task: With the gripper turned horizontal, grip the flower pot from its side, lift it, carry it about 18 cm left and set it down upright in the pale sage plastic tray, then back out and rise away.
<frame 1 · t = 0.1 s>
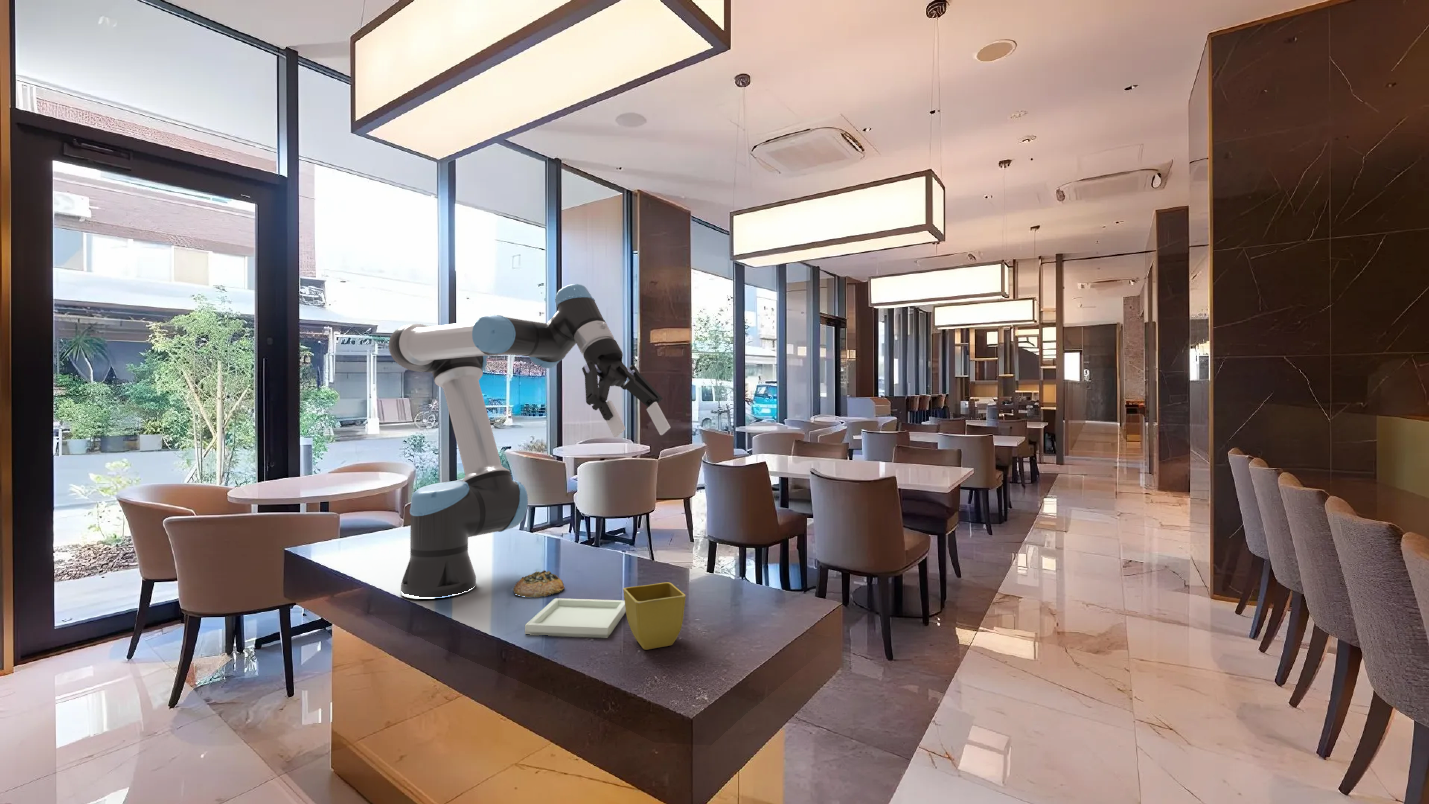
hand: (643, 432, 117), 36 cm above the countertop, tool tilted 35°, fingers open, 13 cm apart
tray: (579, 621, 113), on the countertop
flower pot: (653, 644, 102), on the countertop
bread roll: (539, 592, 132), on the countertop
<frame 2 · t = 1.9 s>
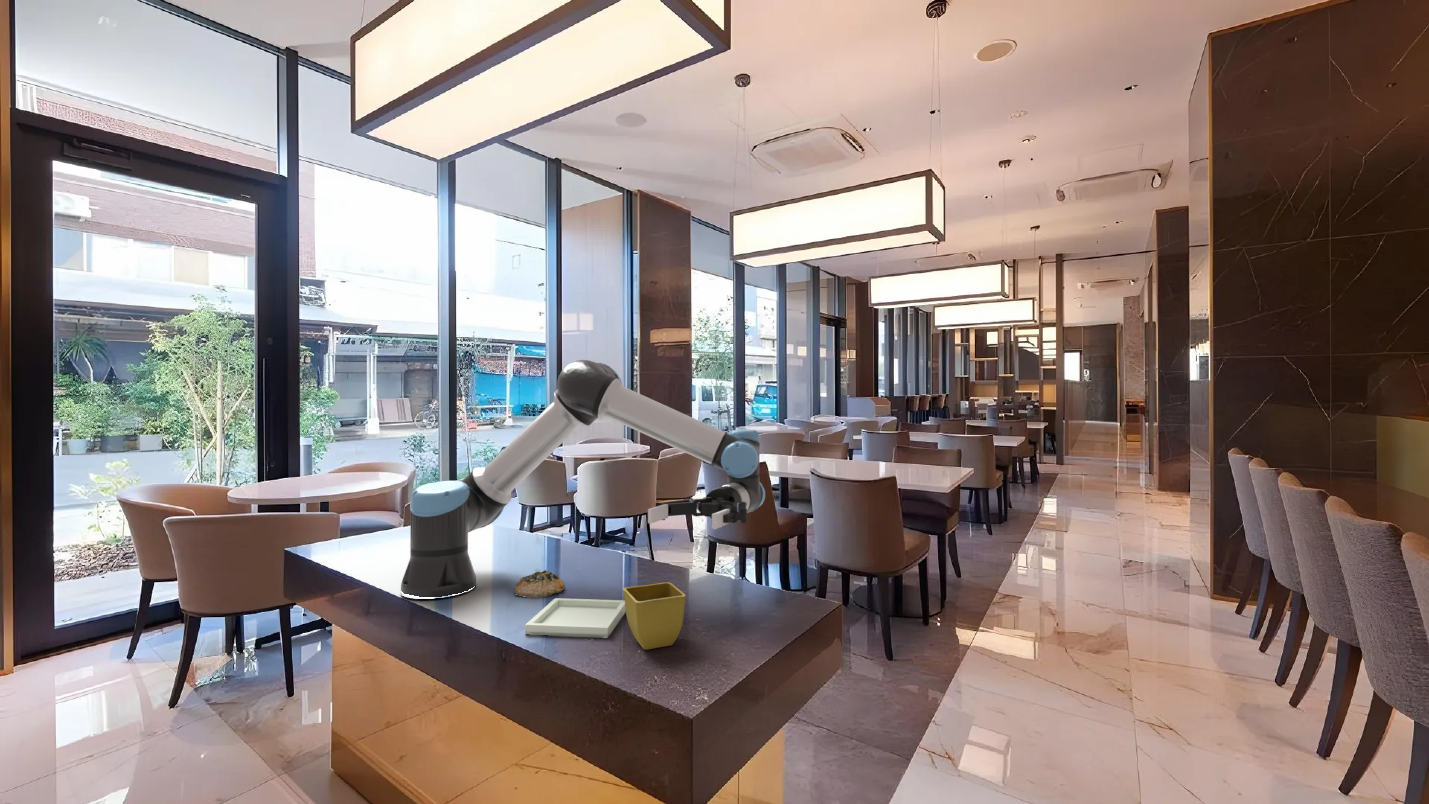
hand: (680, 518, 111), 20 cm above the countertop, tool horizontal, fingers open, 13 cm apart
nothing on the countertop moved.
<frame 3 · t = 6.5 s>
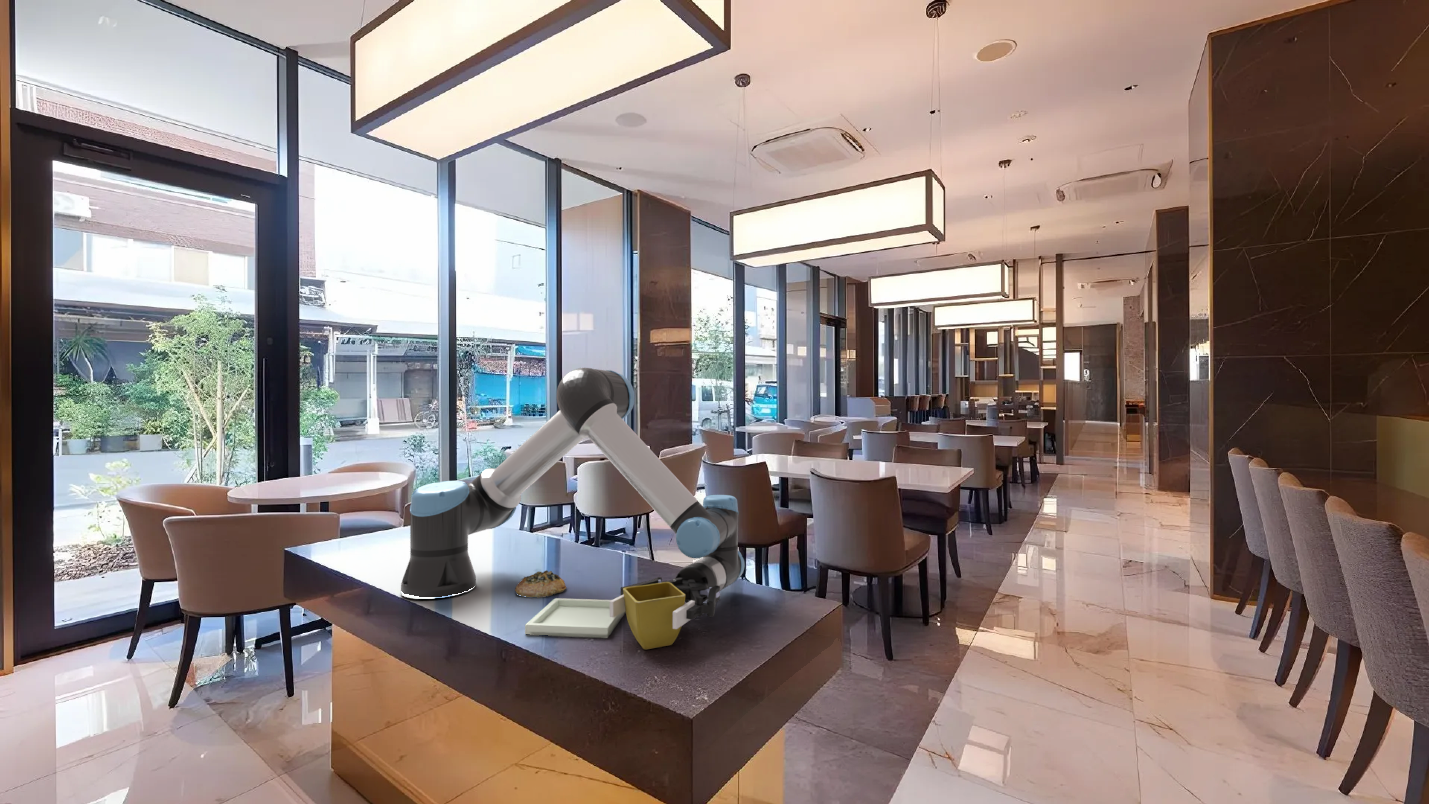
hand: (642, 614, 99), 6 cm above the countertop, tool horizontal, fingers closed on flower pot, 12 cm apart
flower pot: (653, 644, 102), on the countertop, touching gripper
everything else where it was.
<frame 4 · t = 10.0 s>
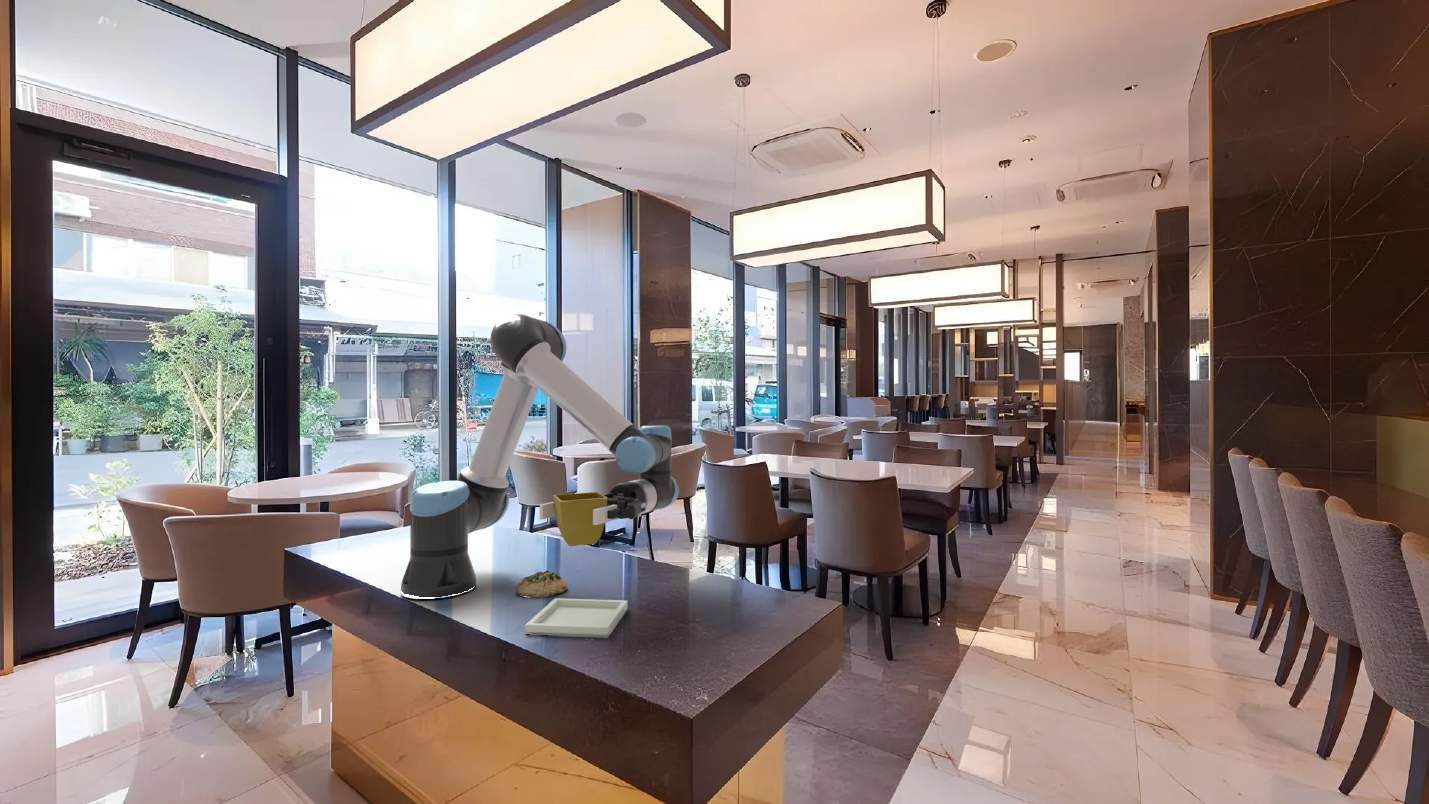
hand: (567, 514, 110), 21 cm above the countertop, tool horizontal, fingers closed on flower pot, 12 cm apart
flower pot: (579, 544, 113), point 15 cm above the countertop, touching gripper
everything else where it was.
when the fingers open (8 cm above the countertop, at t = 13.4 s): flower pot drops 1 cm, resting on tray.
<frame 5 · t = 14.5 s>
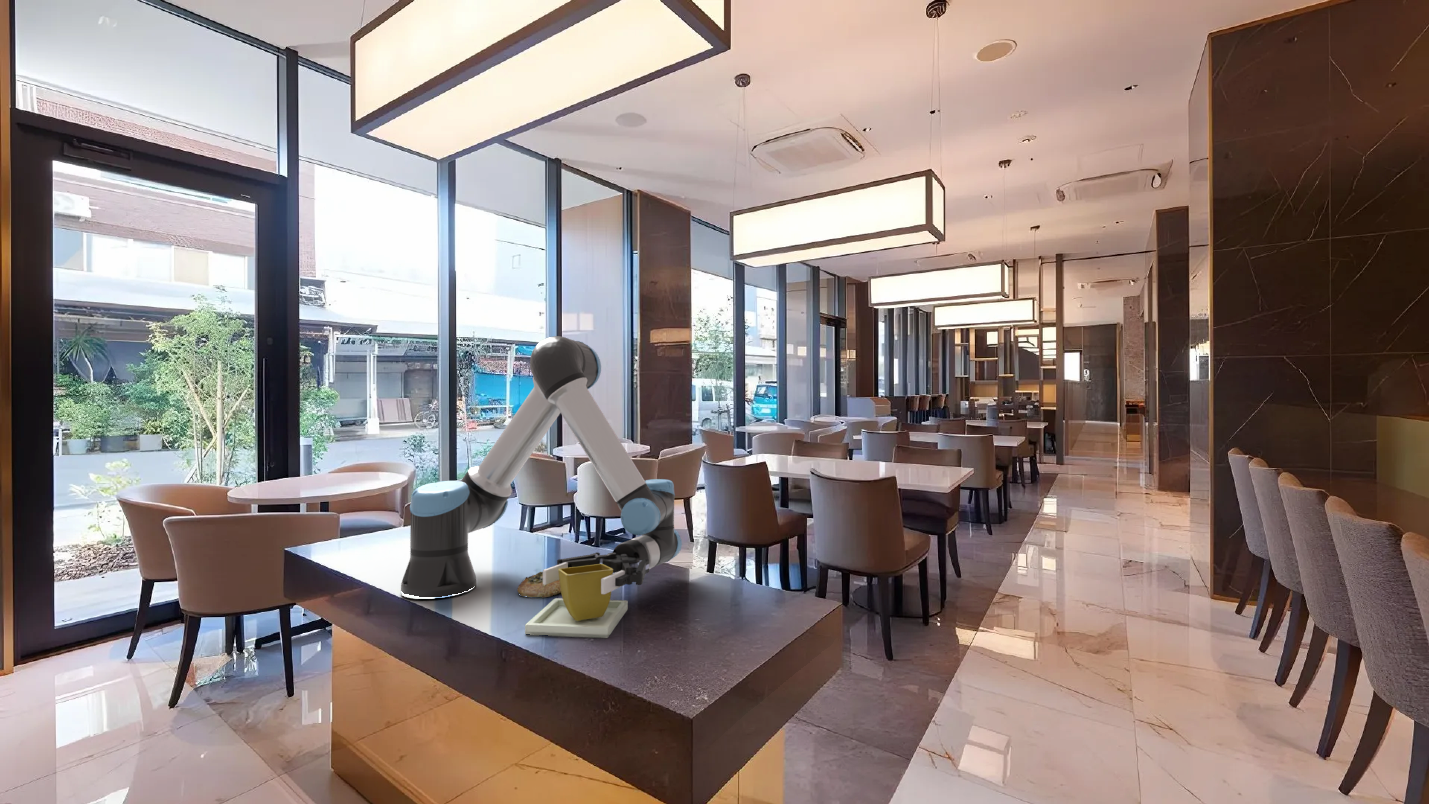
hand: (572, 582, 111), 8 cm above the countertop, tool horizontal, fingers open, 13 cm apart
flower pot: (586, 618, 112), point 1 cm above the countertop, touching tray
everything else where it was.
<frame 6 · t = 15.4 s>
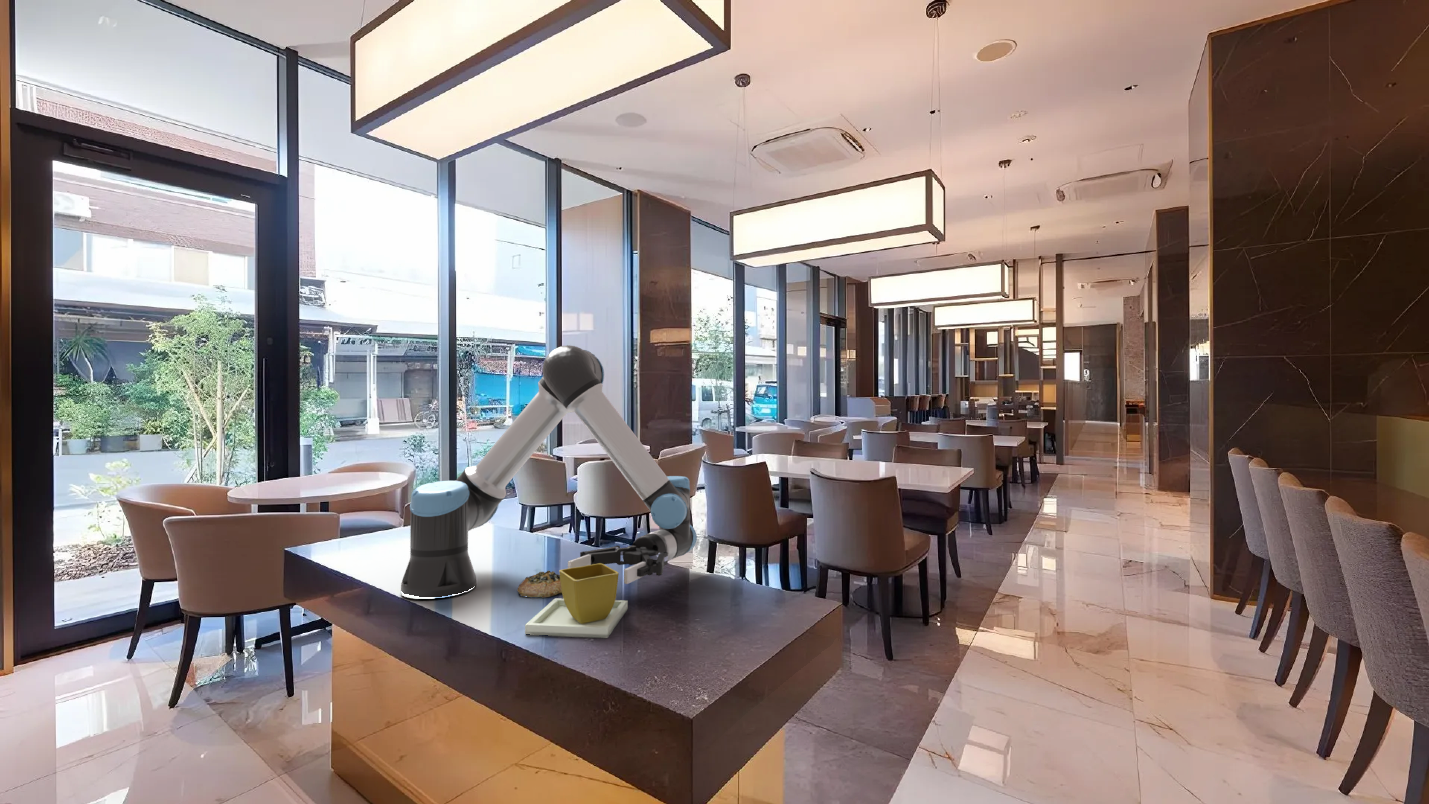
hand: (596, 572, 117), 8 cm above the countertop, tool horizontal, fingers open, 13 cm apart
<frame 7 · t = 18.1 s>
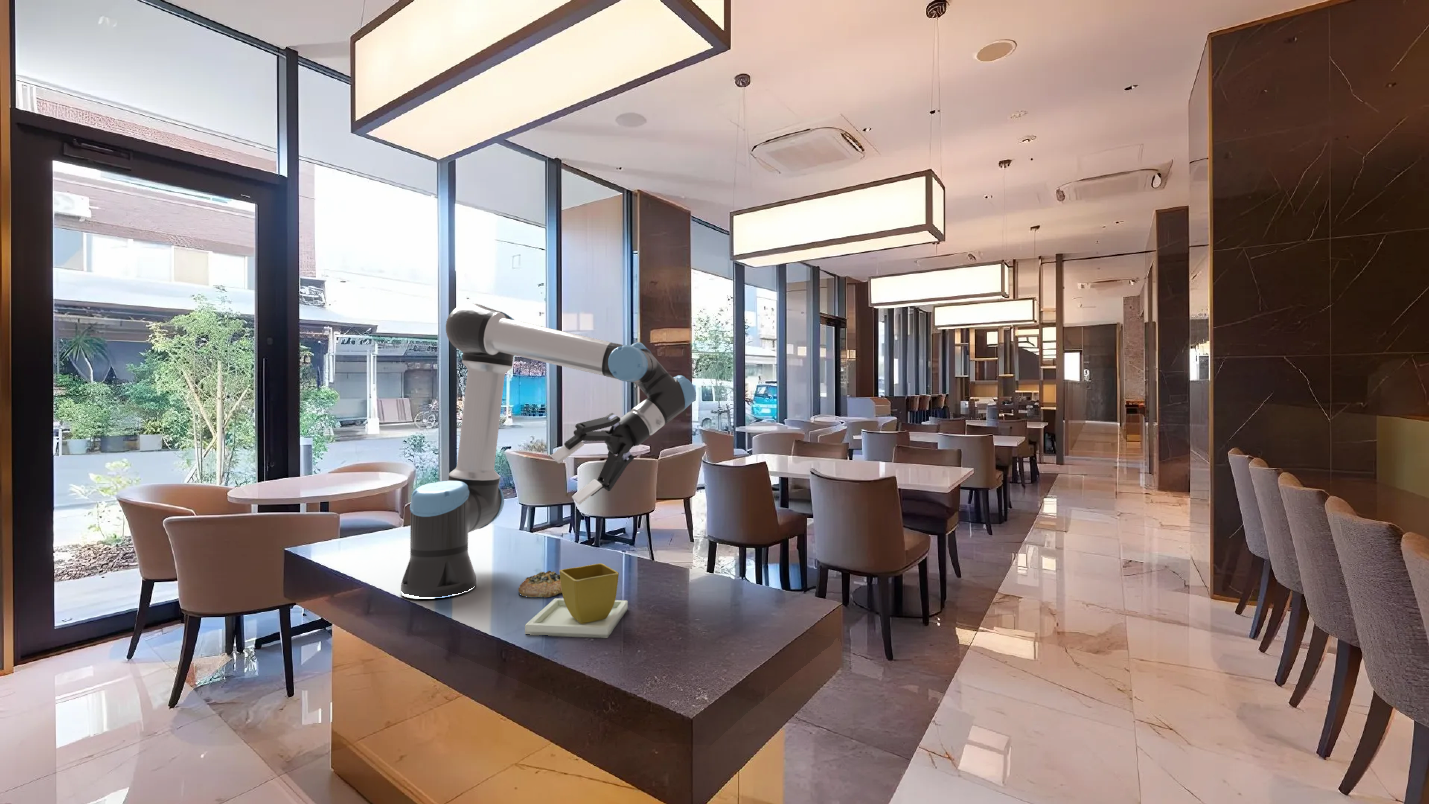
hand: (565, 480, 127), 25 cm above the countertop, tool tilted 55°, fingers open, 13 cm apart
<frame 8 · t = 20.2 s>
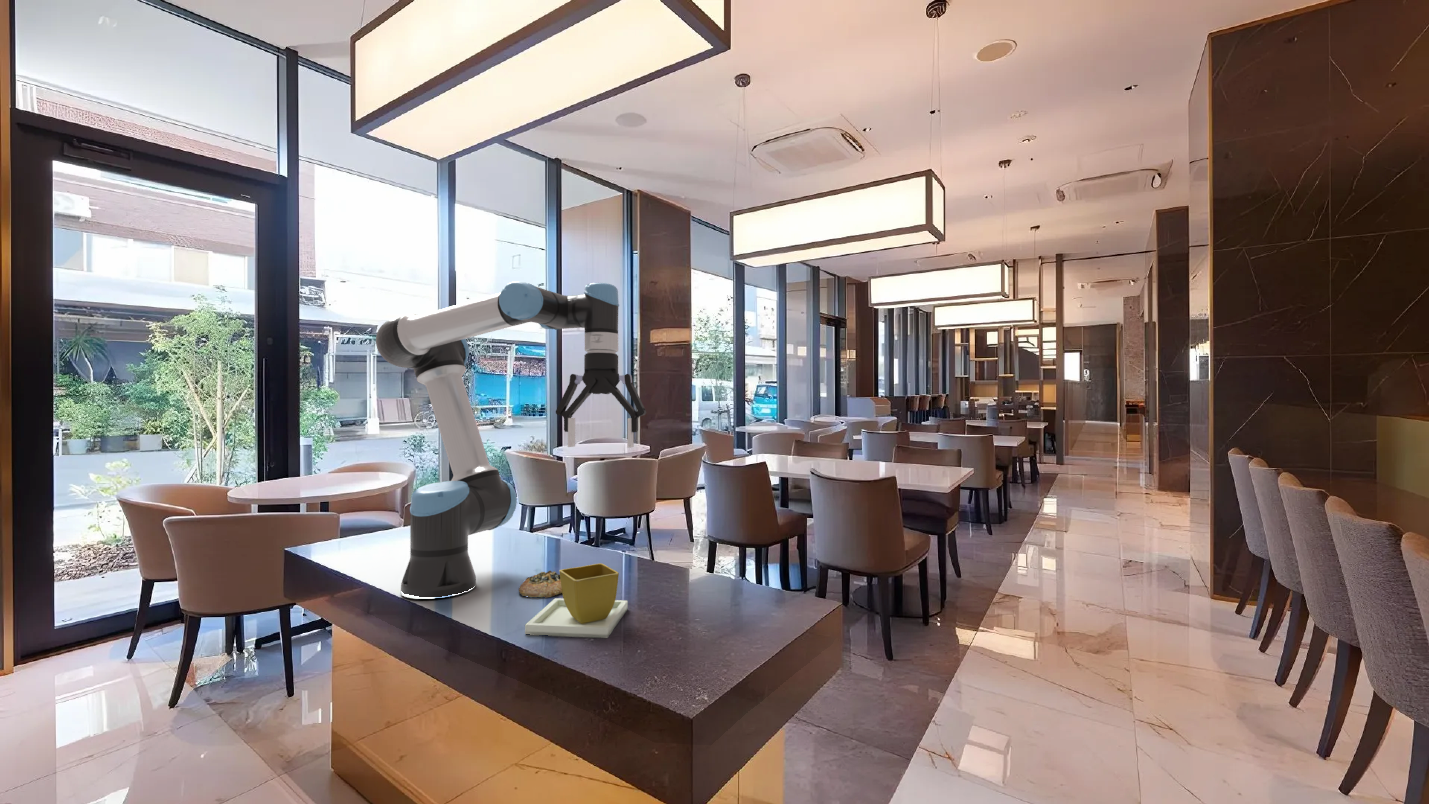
hand: (600, 447, 134), 32 cm above the countertop, tool pointing down, fingers open, 13 cm apart
at the end: flower pot inside the target area on the tray (1.8 cm from its centre), point 0.4 cm above the tray's base; flower pot tilted 0°; the gripper is holding nothing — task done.
